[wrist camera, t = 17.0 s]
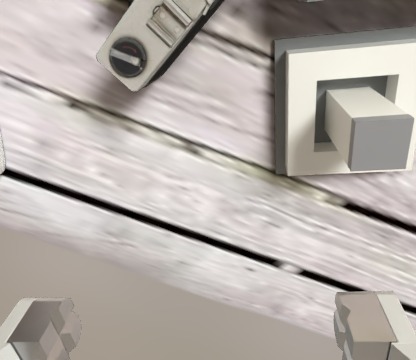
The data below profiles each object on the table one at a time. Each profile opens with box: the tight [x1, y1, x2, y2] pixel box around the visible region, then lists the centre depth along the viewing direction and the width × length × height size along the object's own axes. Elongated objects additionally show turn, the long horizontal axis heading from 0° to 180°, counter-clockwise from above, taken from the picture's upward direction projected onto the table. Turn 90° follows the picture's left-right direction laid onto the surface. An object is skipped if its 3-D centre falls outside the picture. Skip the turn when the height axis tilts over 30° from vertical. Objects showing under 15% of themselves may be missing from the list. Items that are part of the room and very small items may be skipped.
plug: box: [324, 87, 415, 172], centre depth 30 cm, size 4×4×10 cm
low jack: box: [274, 26, 416, 176], centre depth 34 cm, size 14×14×3 cm
